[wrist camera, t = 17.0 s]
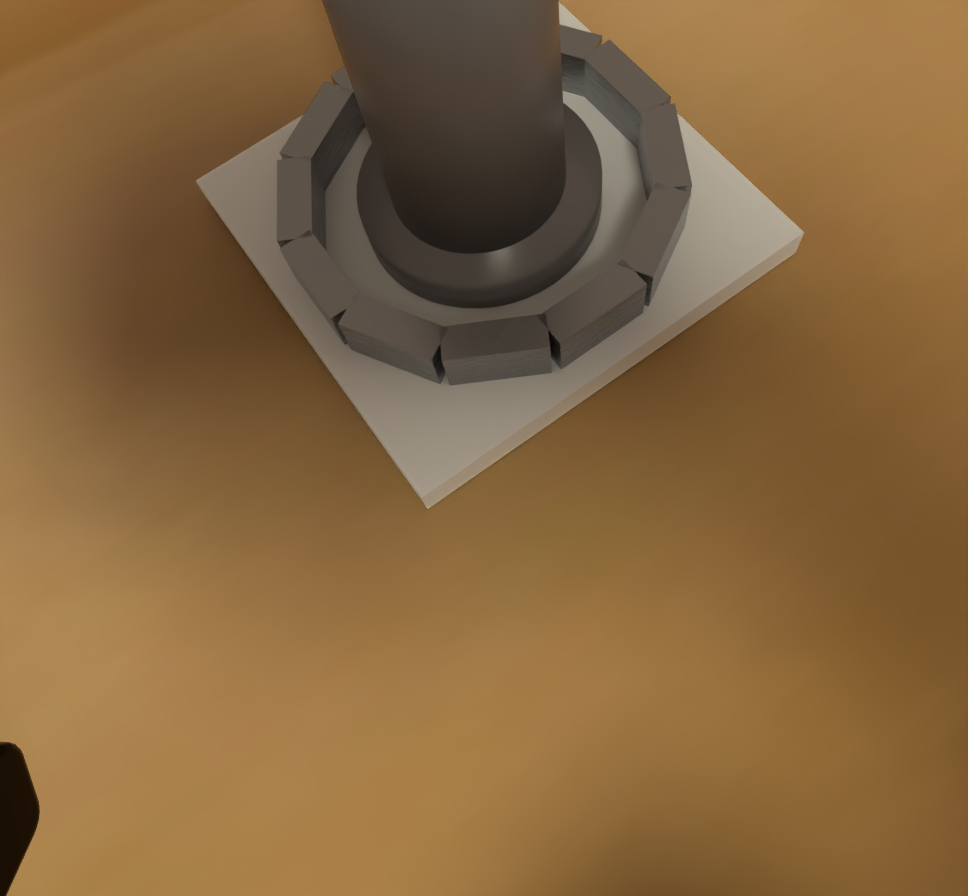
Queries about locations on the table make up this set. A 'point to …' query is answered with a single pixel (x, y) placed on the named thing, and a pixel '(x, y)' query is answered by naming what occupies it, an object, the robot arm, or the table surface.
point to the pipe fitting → (468, 146)
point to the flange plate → (512, 327)
